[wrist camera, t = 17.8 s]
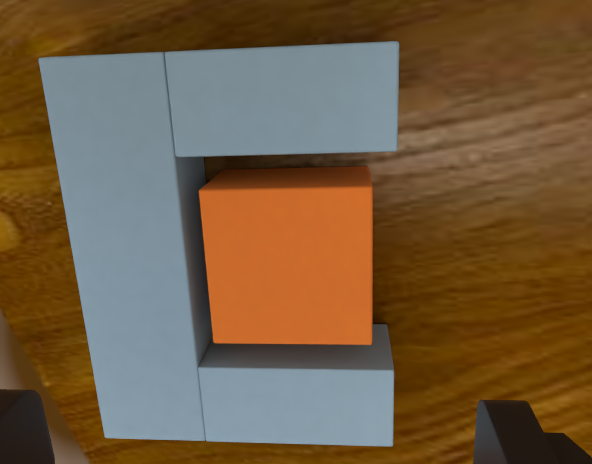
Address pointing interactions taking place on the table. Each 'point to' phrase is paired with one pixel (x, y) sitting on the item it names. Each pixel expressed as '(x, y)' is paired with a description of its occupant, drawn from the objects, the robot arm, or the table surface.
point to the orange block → (289, 255)
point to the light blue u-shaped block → (189, 235)
